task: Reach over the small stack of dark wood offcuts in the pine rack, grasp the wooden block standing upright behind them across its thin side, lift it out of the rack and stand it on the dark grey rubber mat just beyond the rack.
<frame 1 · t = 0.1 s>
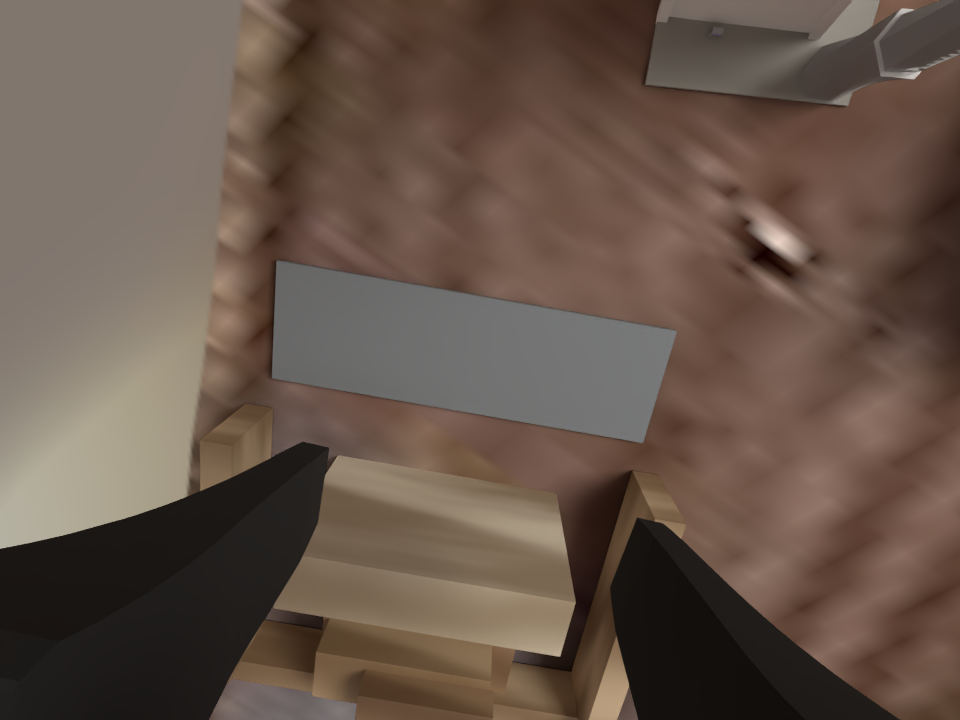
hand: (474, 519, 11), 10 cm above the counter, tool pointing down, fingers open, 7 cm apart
mat: (467, 353, 21), on the counter
wooden block: (443, 495, 23), on the counter
rack: (434, 550, 24), on the counter
offcuts: (422, 623, 25), resting in rack
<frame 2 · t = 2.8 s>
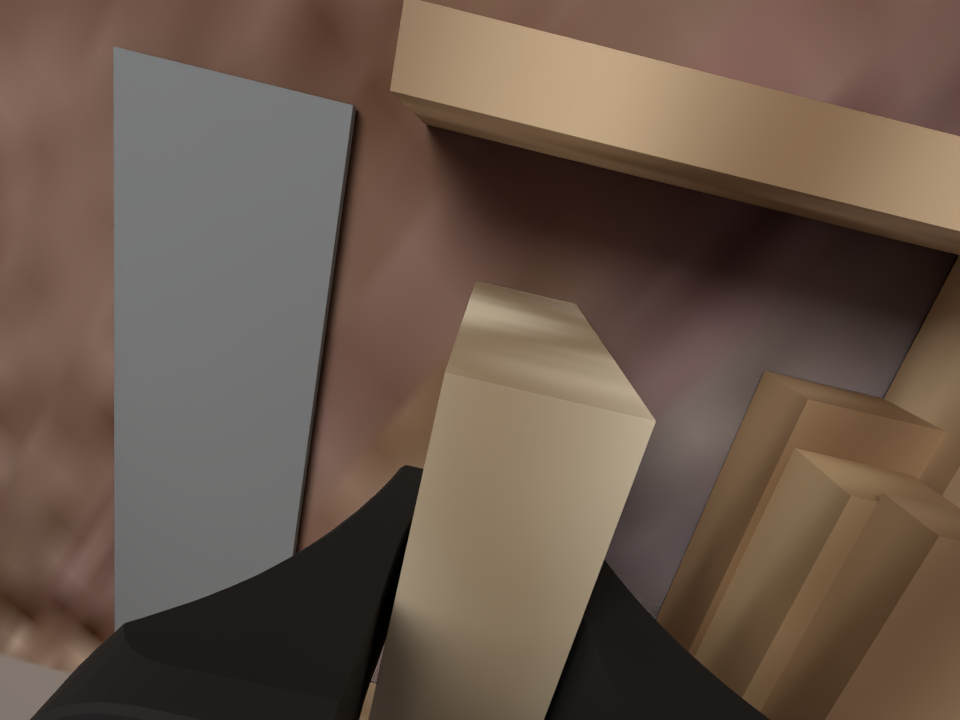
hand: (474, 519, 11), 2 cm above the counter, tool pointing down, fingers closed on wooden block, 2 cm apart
mat: (216, 416, 13), on the counter
wooden block: (478, 474, 13), on the counter, touching gripper
rack: (588, 500, 13), on the counter
offcuts: (751, 537, 13), resting in rack
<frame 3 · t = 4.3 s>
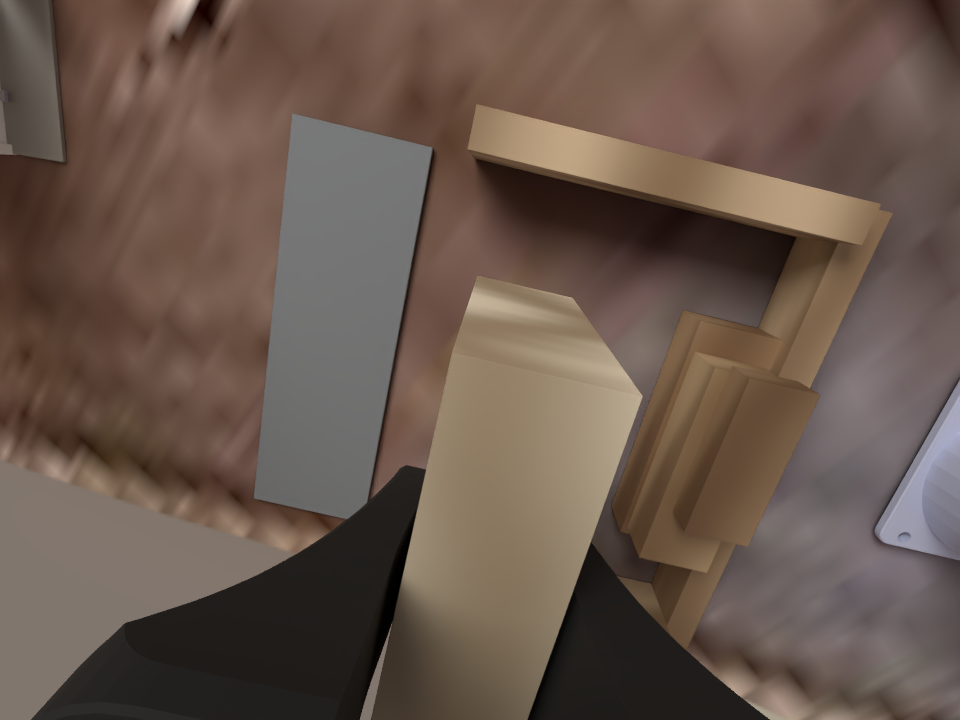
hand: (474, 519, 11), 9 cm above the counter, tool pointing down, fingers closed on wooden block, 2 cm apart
mat: (334, 342, 20), on the counter
wooden block: (479, 462, 14), point 7 cm above the counter, touching gripper
rack: (574, 398, 20), on the counter
offcuts: (679, 422, 21), resting in rack
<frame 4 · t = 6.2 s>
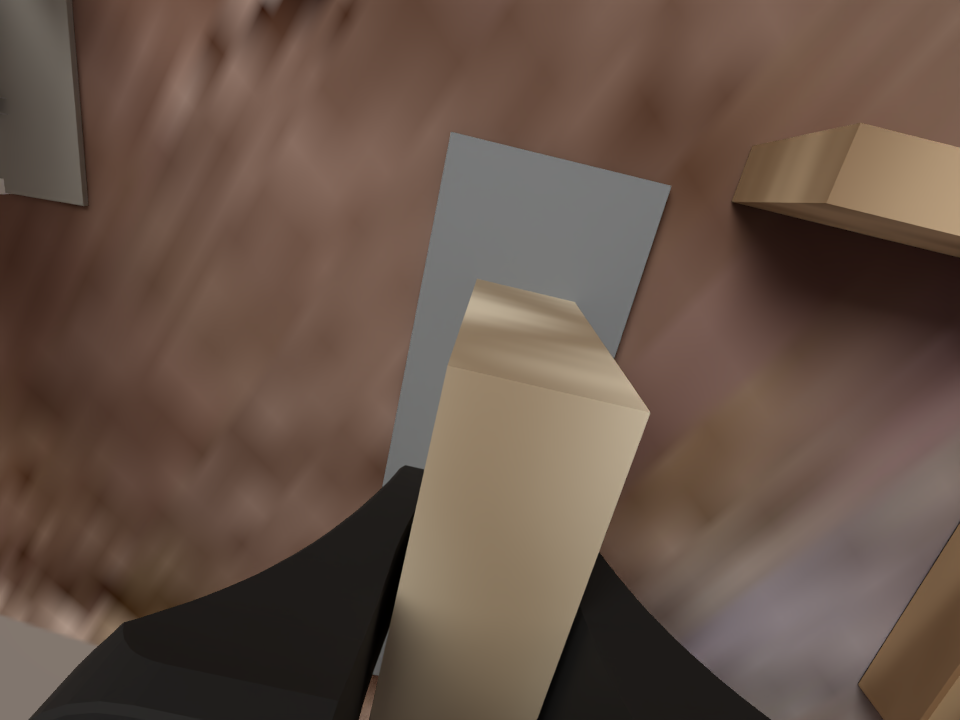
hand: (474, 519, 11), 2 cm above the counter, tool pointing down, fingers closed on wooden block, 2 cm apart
mat: (480, 465, 14), on the counter
wooden block: (479, 470, 13), resting on mat, touching gripper
rack: (829, 545, 14), on the counter
when the fingers open (2 cm above the counter, at t = 6.5 s): wooden block stays where it is, resting on mat.
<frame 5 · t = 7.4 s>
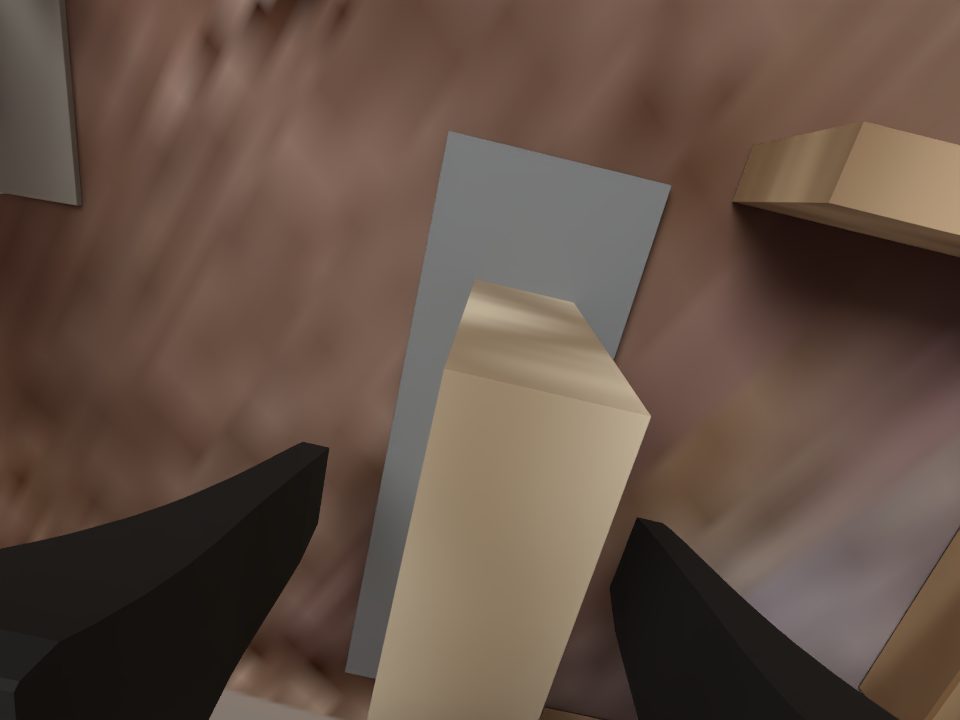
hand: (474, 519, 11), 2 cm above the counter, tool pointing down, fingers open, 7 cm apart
mat: (479, 467, 14), on the counter
wooden block: (477, 472, 13), resting on mat
rack: (830, 547, 14), on the counter
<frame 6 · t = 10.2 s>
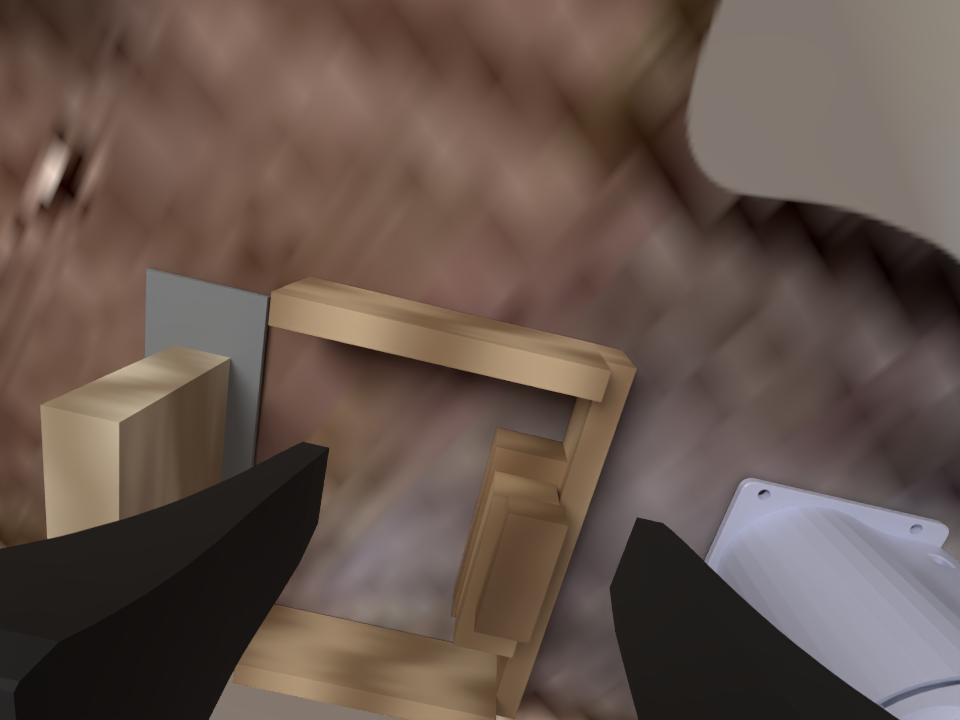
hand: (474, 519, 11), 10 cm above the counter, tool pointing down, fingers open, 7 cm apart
mat: (200, 450, 23), on the counter
wooden block: (196, 453, 23), resting on mat
rack: (412, 498, 23), on the counter
offcuts: (505, 519, 24), resting in rack
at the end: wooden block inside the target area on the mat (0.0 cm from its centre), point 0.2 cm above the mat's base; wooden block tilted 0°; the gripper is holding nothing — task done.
